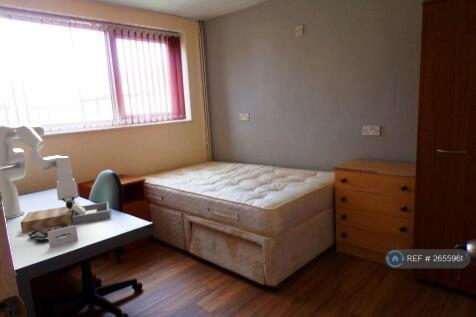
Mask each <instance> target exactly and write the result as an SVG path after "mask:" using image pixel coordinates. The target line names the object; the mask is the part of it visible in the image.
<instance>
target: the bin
mask: <svg viewBox="0 0 476 317" xmlns="http://www.w3.org/2000/svg"><path fill="white" fill-rule="evenodd" d="M81 206H82V207H83V208H84V209H85V210H86V211H89V210H95V209H97V213H91V214H85V215H80V214H79V213H78V212H76V211H75V210H74V213H73V216H72V220H73V224H72V226H74V225H75V226H76V225H79V224H86V223H91V222H97V221H103V220H102V219H104V220H107V219H106V218H109V219H110V218H111V216H110V215H111V214H110V204H109V201H105V202H99V203H93V204H87V205H81Z"/></svg>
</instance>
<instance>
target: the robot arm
mask: <svg viewBox="0 0 476 317" xmlns="http://www.w3.org/2000/svg"><path fill="white" fill-rule="evenodd" d="M44 135H45V129H44V128H43V127H42V125H40V124H37V123H21V124H19V123H17V124H7V125H0V166H2V167H0V192H1V196H2V202H3V207H4V213H5V218H6V219H5V220H7V219H14V218H19V217H21V216H23V215H24V214H25V211H23V210H21V203H20V199H19V198H20V197H19V194H18V188H17V185H16V184H15V183H13V182H14V181H18V180H21V179H24V178H25V177H26V174H27V154H26V152H25V151H24V149H22V148H14V146H15V145H14V141H13V140H15V139H17V140H18V139H20V140H21V141H22V142H23V143H24V144H25V145H26V147H28V148H29V150H30V151H29V157H30V161H31V163H32V164H33V165H34V166H35V167H36V168H37V169H38V170H40V171H42V172H49V171H53V170H56V175H57V176H55V177H54V180H56V193H57V200H58V201H62V202H64V203H65V205H67V208H68V209H72V207H73V204H72V201H73V200H74V199H75V200H76V199H77V198H79V196H80V195H79V193H78V186H77V183H76V180H75V178H74V177H73V171H72V170H73V169H72V165H71V164H72V163H71V159H70V156H68V155H64V156H63V155H62V156H61V155H53V156H52V155H51V156H46V157H42V155H41V154H40V153H39V152H40V151H41V150H42V149H43V148H44V147H45V144H46V142H45V141H44V139H43V138H42V137H43V136H44ZM69 197H70V201H68V199H67V198H69Z"/></svg>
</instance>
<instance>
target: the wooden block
mask: <svg viewBox="0 0 476 317" xmlns="http://www.w3.org/2000/svg"><path fill="white" fill-rule="evenodd" d="M73 213H74V209H73V208H72V209H68V208H67V207H65V206H61V207H54V208H47V209H43V210H35V211H30V212H28V213H27V214H26V215H25V216H24V218H23V219H22V220H21V221H20V228H21V233H22V234H27V233H32V231H33V232H34V231H38V230H41V229H45V228H47V227H51V226H55V225H58V224H67V225H69V226H73V220H72V216H73ZM26 232H27V233H26Z"/></svg>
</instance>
